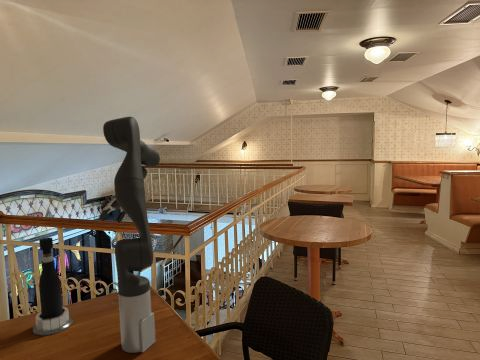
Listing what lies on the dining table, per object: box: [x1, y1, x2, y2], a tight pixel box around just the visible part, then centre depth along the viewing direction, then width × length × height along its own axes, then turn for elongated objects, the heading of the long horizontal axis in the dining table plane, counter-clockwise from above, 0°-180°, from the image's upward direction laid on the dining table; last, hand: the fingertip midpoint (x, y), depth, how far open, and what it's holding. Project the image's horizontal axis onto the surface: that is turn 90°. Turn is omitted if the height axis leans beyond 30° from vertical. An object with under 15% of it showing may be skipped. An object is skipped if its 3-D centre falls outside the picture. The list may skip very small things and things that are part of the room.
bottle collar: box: [32, 306, 74, 337], centre depth 114 cm, size 12×12×5 cm
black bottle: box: [38, 237, 64, 319], centre depth 113 cm, size 6×6×30 cm
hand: (109, 220), depth 126 cm, fingers open, 8 cm apart
